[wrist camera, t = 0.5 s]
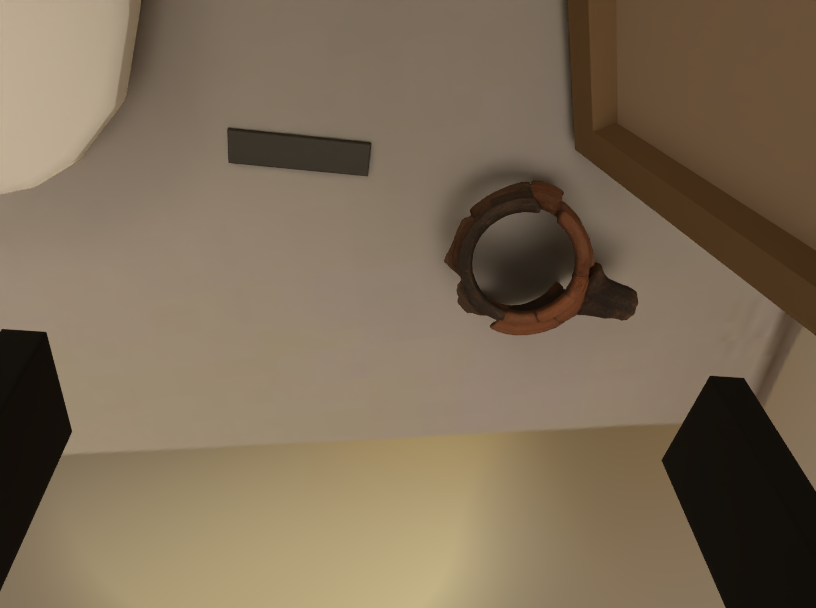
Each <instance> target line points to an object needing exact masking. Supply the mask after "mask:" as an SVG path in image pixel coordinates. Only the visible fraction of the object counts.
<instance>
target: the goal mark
mask: <svg viewBox="0 0 816 608" xmlns="http://www.w3.org/2000/svg"><path fill="white" fill-rule="evenodd" d="M370 149H371V143H368V142H358V141H348V140H339V139H329V138H319V137H309V136H300V135H290V134H280V133H270V132H261V131H251V130H241V129H231V128H228V159H229V163H235V164H246V165H256V166H267V167H277V168H287V169H298V170H308V171H319V172H329V173H339V174H350V175H360V176H368V168H369V159H370Z"/></svg>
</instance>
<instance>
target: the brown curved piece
mask: <svg viewBox="0 0 816 608" xmlns="http://www.w3.org/2000/svg"><path fill="white" fill-rule="evenodd" d="M563 194H564V192H563V190H561V189H559V188H558V187H556V186H553V185H551V184H547V183H544V182H540V181H532V183H531V184H530V183H529V182H520V183H517V184H513V185H510V186H508V187H505V188H503V189H500V190H498V191H496V192H494V193H492V194H490V195H489V196H487V197H485V198H484V199H482V200H481V201H480V202H478V203H477V204H475V205H474V206H473V207H472V208H471V209H470V213H471V216H469V217H466V218H464V219H463V220H462V221H461V223H460V225H459V227H458V229H457V232H456V235H455V237H454V240H453V243H452V245H451V247H450V249H449V251H448V253H447V254H446V257H445V259H444V262H445V263H446V264H447V265H448V266H449V267H450V268H451V269H452V270H453V271H455V272H456V273H457V274H458V275H459V276H460V277H461V281H460V282H459V284H458V285H457V286H458V287H457V294H458V296H459V297H458V303H459V305H460V306H461V307H462V308H463V309H464V311H466V312H467V313H474V314H477V315H487V316H489V317H491V318H493V319H495V320H497V321H495V322H493V323H492V324H491V325H490V328H491V329H494V330H496V331H498V332H501V333H505V334H510V335H530V334H536V333H541V332H545V331H548V330H550V329H554V328H556V327H558V326H559V325H560V324H562V323H564V322H565V321H566V320H569V319H570V318H572V317H574V316H576V315H589V316H595V317H600V318H615V319H619V320H627V319H628V318H630V317H631V316H632V315H634V314H635V310H636V306H637V305H638V298H637V292H636V291H635V290H633V289H632V288H630V287H628V286H625V285H622V284H620V283H617V282H615V281H613V280H610V279H609V278H608V277H607V276H606V275H605V274H604V272H603V269H602V266H601V264H600V263H597V262H596V263H595V262H594V261H595V260H594V255H593V250H592V247H591V243H590V239H589V237H588V234H587V232H586V230H585V228H584V226H583V225H582V222H581V220H580V219H579V217H578V216H577V214H576V213H575V212H574V211H573V210H572V209H571V208H570V207H569V206H568V205H567V204H566V203H564V202H562V201H561V200H562V195H563ZM541 209H542V210H545V211H548V212H550V213H551V214H553V215H554V216H556V218H557V223H558V224H559V225H560V226H561V227H562V228H563V229H564V230H565V232H566V233H567V234H568V236H569V238H570V240H571V242H572V245H573V248H574V253H575V267H574V272H573V274H572V279H571V281H570V283H569V285H568V286H567V288H566V290H565V289H563V287H562V285H561V284H560V283H558V282H555V283H554V285H553V286H552V287H551V288H550V289H549V290H548V291H547V292H546V293H545V294H543V295H542V296H541V297H539V298H537V299H535V300H533V301H531V302H528V303H526V304H521V305H506V304H502V303H498V302H495V301H492V300H490V299H488V298H487V297H486V296H485V295H484V294H483V292H482V291H481V290H480V288H479V286H478V285H477V283H476V280H475V278H474V274H473V271H472V259H473V253H474V249H475V246H476V244H477V242H478V240H479V238H480V237H481V235H482V234H483V233H484V232H485V231H486V229H487V228H488V227H489V226H490V225H492V224H493V223H495V222H496V221H498V220H499V219H501V218H503V217H505V216H508V215H511V214H515V213H521V212H533V213H539V212H540V210H541Z"/></svg>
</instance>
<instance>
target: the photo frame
mask: <svg viewBox="0 0 816 608" xmlns="http://www.w3.org/2000/svg"><path fill="white" fill-rule="evenodd" d="M567 2H568V21H569V41H570V60H571V79H572V98H573V117H574V136H575V150H577V151H578V152H579V153H581V154H582V155H583V156H584V157H586V158H587V159H588V160H590V161H591V162H592V163H593V164H595V165H596V166H597V167H599V168H600V169H601V170H603V171H604V172H605V173H606V174H608V175H609V176H610V177H612V178H613V179H614V180H615V181H617V182H618V183H619V184H621V185H622V186H623V187H624V188H626V189H627V190H628V191H630V192H631V193H632V194H634V195H635V196H636V197H637V198H639V199H640V200H641V201H643V202H644V203H645V204H646V205H648V206H649V207H650V208H652V209H653V210H654V211H656V212H657V213H658V214H659V215H661V216H662V217H663V218H665V219H666V220H667V221H668V222H670V223H671V224H672V225H674V226H675V227H676V228H677V229H679V230H680V231H681V232H683V233H684V234H685V235H687V236H688V237H689V238H690V239H692V240H693V241H694V242H696V243H697V244H698V245H699V246H701V247H702V248H703V249H705V250H706V251H707V252H709V253H710V254H711V255H712V256H714V257H715V258H716V259H718V260H719V261H720V262H721V263H723V264H724V265H725V266H727V267H728V268H729V269H730V270H732V271H733V272H734V273H736V274H737V275H738V276H740V277H741V278H742V279H743V280H745V281H746V282H747V283H749V284H750V285H751V286H752V287H754V288H755V289H756V290H758V291H759V292H760V293H762V294H763V295H764V296H765V297H767V298H768V299H769V300H771V301H772V302H773V303H774V304H776V305H777V306H778V307H780V308H781V309H782V310H784V311H785V312H786V313H787V314H789V315H790V316H791V317H793V318H794V319H795V320H796V321H798V322H799V323H800V324H802V325H803V326H804V327H805V328H807V329H808V330H809V331H811V332H812V333H813V334H815V335H816V0H567Z"/></svg>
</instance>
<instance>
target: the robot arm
mask: <svg viewBox="0 0 816 608" xmlns="http://www.w3.org/2000/svg"><path fill="white" fill-rule="evenodd" d="M71 433H72V429H71V425H70V422H69V418H68V414H67V410H66V406H65V402H64V398H63V395H62V391H61V387H60V383H59V379H58V375H57V371H56V368H55V364H54V360H53V356H52V352H51V348H50V345H49V341H48V337H47V333H46V332H38V331H23V330H7V329H2V330H1V332H0V590H1V588H2V586H3V584H4V581H5V579H6V577H7V575H8V573H9V570H10V568H11V566H12V563H13V561H14V559H15V557H16V555H17V553H18V550H19V548H20V546H21V544H22V541H23V539H24V537H25V535H26V533H27V530H28V528H29V526H30V524H31V521H32V519H33V517H34V515H35V512H36V510H37V508H38V506H39V503H40V501H41V499H42V497H43V495H44V493H45V490H46V488H47V486H48V483H49V481H50V479H51V477H52V475H53V472H54V470H55V468H56V466H57V464H58V462H59V459H60V457H61V455H62V453H63V450H64V448H65V446H66V444H67V442H68V439H69V437H70V435H71ZM662 462H663V464H664V467H665V469H666V472H667V474H668V476H669V478H670V481H671V483H672V485H673V487H674V490H675V492H676V495H677V497H678V499H679V501H680V504H681V506H682V508H683V510H684V513H685V515H686V518H687V520H688V522H689V524H690V527H691V529H692V531H693V533H694V536H695V538H696V540H697V543H698V545H699V547H700V550H701V552H702V554H703V557H704V559H705V561H706V564H707V566H708V568H709V570H710V573H711V575H712V577H713V579H714V582H715V584H716V587H717V589H718V591H719V593H720V596H721V598H722V600H723V603H724V605H725V607H726V608H816V491H815V490H814V488H813V487H812V485H811V483H810V482H809V480H808V479H807V477H806V475H805V474H804V472H803V471H802V469H801V468H800V466H799V464H798V463H797V461H796V460H795V458H794V456H793V455H792V453H791V452H790V450H789V449H788V447H787V445H786V444H785V442H784V441H783V439H782V437H781V436H780V434H779V433H778V431H777V430H776V428H775V426H774V425H773V424H772V422H771V420H770V419H769V417H768V415H767V414H766V412H765V411H764V409H763V407H762V406H761V404H760V403H759V401H758V400H757V398H756V396H755V395H754V393H753V392H752V390H751V388H750V387H749V385H748V384H747V382H746V381H745V379H744V378H734V377H719V376H710V377H709V378H708V380H707V382H706V384H705V385H704V387H703V389H702V391H701V392H700V394H699V396H698V398H697V399H696V401H695V403H694V405H693V406H692V408H691V410H690V412H689V413H688V415H687V417H686V419H685V420H684V422H683V424H682V426H681V427H680V429H679V431H678V433H677V434H676V436H675V438H674V440H673V442H672V443H671V445H670V446H669V448H668V450H667V452H666V453H665V455H664V457H663V459H662Z"/></svg>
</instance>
